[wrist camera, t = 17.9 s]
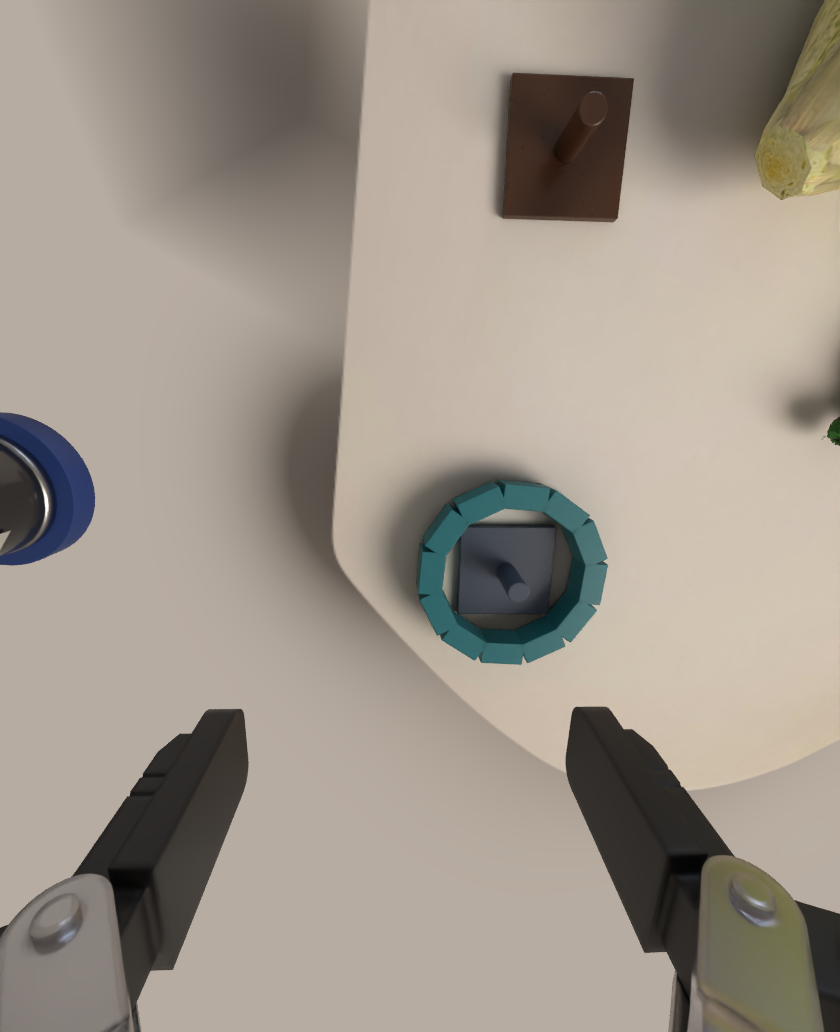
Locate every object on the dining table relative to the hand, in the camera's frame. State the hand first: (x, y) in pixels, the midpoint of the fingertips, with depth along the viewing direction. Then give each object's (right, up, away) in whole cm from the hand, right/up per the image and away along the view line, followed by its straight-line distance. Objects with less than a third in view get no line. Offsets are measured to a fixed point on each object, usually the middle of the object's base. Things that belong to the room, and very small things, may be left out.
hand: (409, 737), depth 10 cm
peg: (+7, +1, +25) cm, 26 cm away
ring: (+7, +1, +24) cm, 26 cm away
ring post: (+10, +29, +17) cm, 35 cm away
